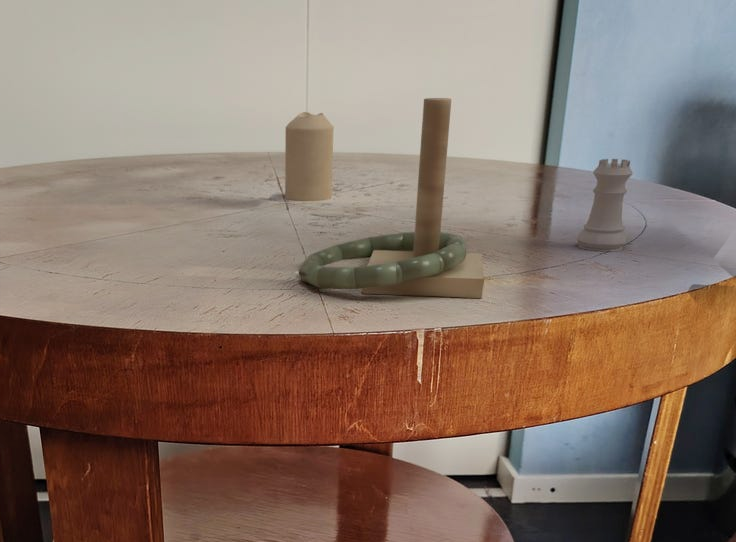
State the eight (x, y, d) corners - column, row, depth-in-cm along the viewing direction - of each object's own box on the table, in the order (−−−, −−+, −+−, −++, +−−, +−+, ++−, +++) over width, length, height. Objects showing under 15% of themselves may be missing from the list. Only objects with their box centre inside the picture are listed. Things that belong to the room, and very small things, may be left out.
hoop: (466, 241, 77) (465, 222, 76) (467, 278, 65) (465, 255, 65) (314, 261, 80) (312, 243, 79) (290, 299, 69) (286, 278, 68)
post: (479, 271, 76) (498, 95, 69) (481, 298, 68) (502, 102, 62) (372, 267, 77) (381, 95, 71) (362, 293, 69) (371, 102, 63)
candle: (277, 202, 109) (278, 112, 104) (319, 199, 111) (321, 110, 106) (296, 209, 104) (297, 115, 100) (339, 205, 106) (342, 113, 101)
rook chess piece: (619, 262, 78) (636, 164, 74) (567, 257, 80) (581, 161, 76) (630, 253, 81) (647, 159, 78) (580, 248, 83) (594, 156, 80)
